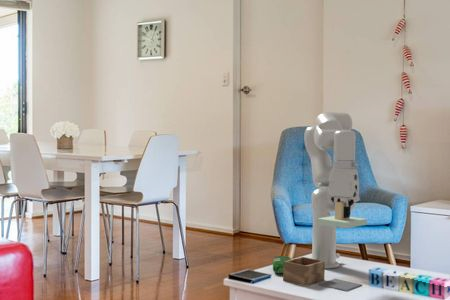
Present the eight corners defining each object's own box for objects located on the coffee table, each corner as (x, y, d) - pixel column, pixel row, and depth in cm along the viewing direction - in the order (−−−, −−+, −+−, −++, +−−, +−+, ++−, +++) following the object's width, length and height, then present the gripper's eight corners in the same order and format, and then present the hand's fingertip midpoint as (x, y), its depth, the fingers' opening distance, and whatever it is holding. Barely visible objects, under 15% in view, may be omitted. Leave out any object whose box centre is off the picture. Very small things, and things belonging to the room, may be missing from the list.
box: (301, 275, 218) (302, 256, 218) (324, 280, 211) (324, 261, 211) (282, 280, 209) (283, 261, 209) (305, 286, 202) (306, 266, 202)
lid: (337, 220, 212) (338, 199, 212) (366, 224, 205) (367, 202, 204) (317, 224, 202) (317, 201, 202) (346, 228, 194) (347, 205, 194)
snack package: (271, 276, 216) (272, 262, 216) (273, 266, 232) (273, 253, 231) (290, 277, 215) (291, 263, 215) (291, 267, 231) (291, 254, 230)
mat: (335, 279, 212) (335, 278, 212) (362, 285, 205) (362, 284, 205) (318, 285, 204) (318, 284, 204) (346, 291, 196) (346, 290, 196)
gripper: (369, 166, 200) (368, 218, 201) (329, 163, 211) (328, 213, 212) (359, 167, 195) (357, 220, 195) (318, 164, 205) (317, 215, 206)
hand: (342, 216), depth 203 cm, fingers closed on lid, 2 cm apart
